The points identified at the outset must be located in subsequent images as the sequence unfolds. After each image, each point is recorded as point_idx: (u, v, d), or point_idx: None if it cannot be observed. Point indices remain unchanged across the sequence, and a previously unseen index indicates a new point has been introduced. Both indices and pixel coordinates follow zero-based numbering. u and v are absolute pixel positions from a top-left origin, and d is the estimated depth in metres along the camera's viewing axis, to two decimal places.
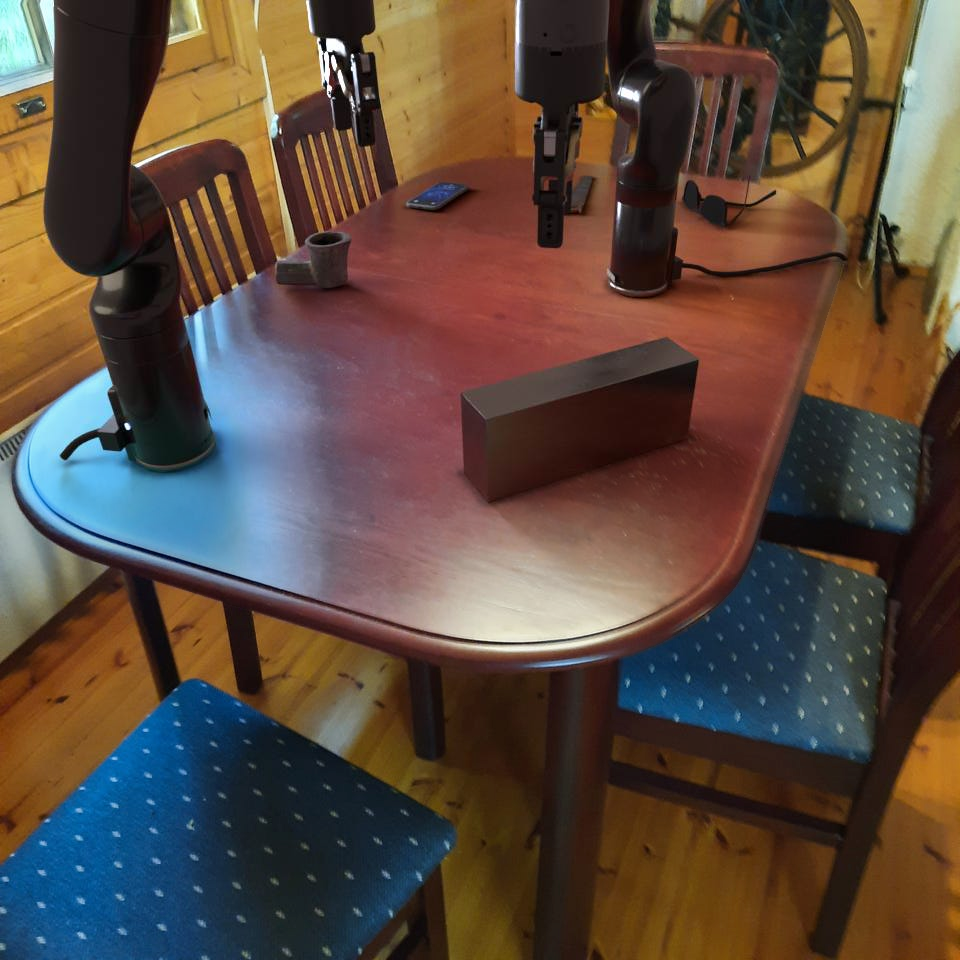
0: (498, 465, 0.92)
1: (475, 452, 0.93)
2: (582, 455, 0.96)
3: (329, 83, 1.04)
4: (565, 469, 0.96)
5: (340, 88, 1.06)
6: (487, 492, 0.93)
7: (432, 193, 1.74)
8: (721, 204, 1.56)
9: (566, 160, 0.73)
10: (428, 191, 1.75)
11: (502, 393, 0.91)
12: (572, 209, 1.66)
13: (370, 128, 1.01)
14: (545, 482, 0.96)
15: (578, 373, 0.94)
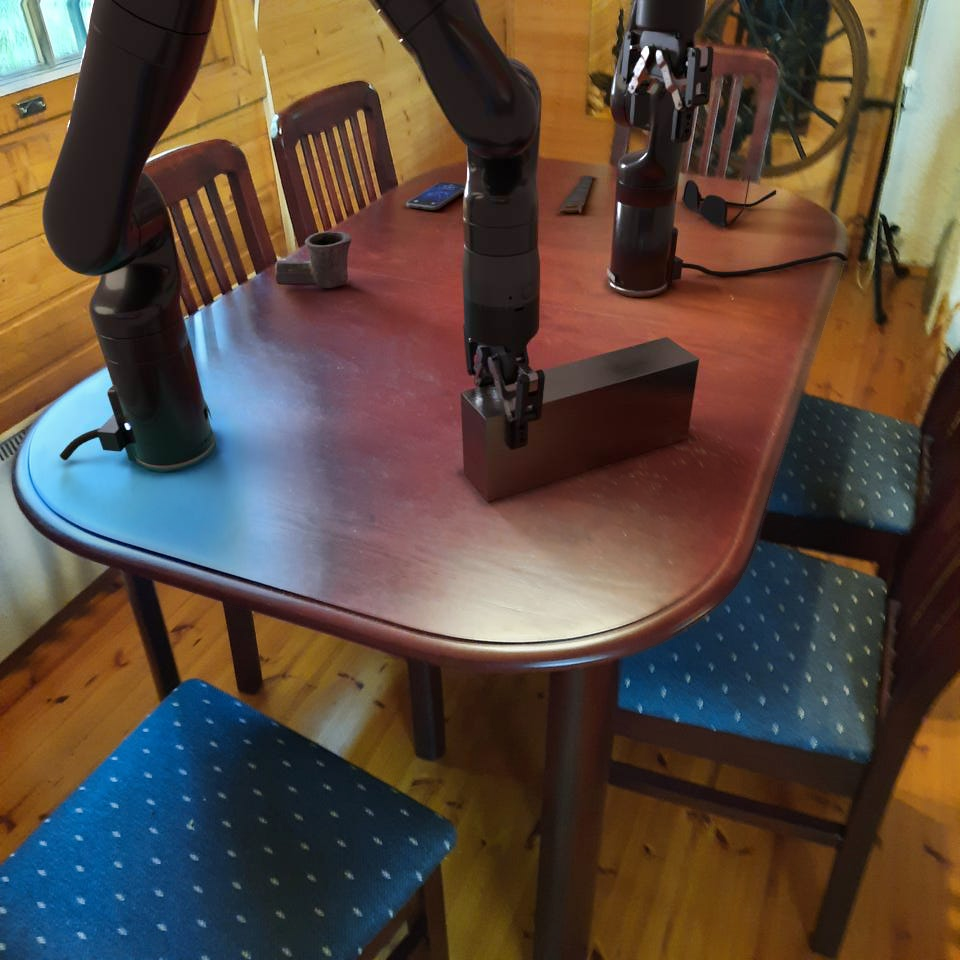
0: (498, 465, 0.92)
1: (475, 452, 0.93)
2: (582, 455, 0.96)
3: (638, 78, 1.02)
4: (565, 469, 0.96)
5: (643, 83, 1.04)
6: (487, 492, 0.93)
7: (432, 193, 1.74)
8: (721, 204, 1.56)
9: None
10: (428, 191, 1.75)
11: None
12: (572, 209, 1.66)
13: (690, 124, 0.98)
14: (545, 482, 0.96)
15: (578, 373, 0.94)
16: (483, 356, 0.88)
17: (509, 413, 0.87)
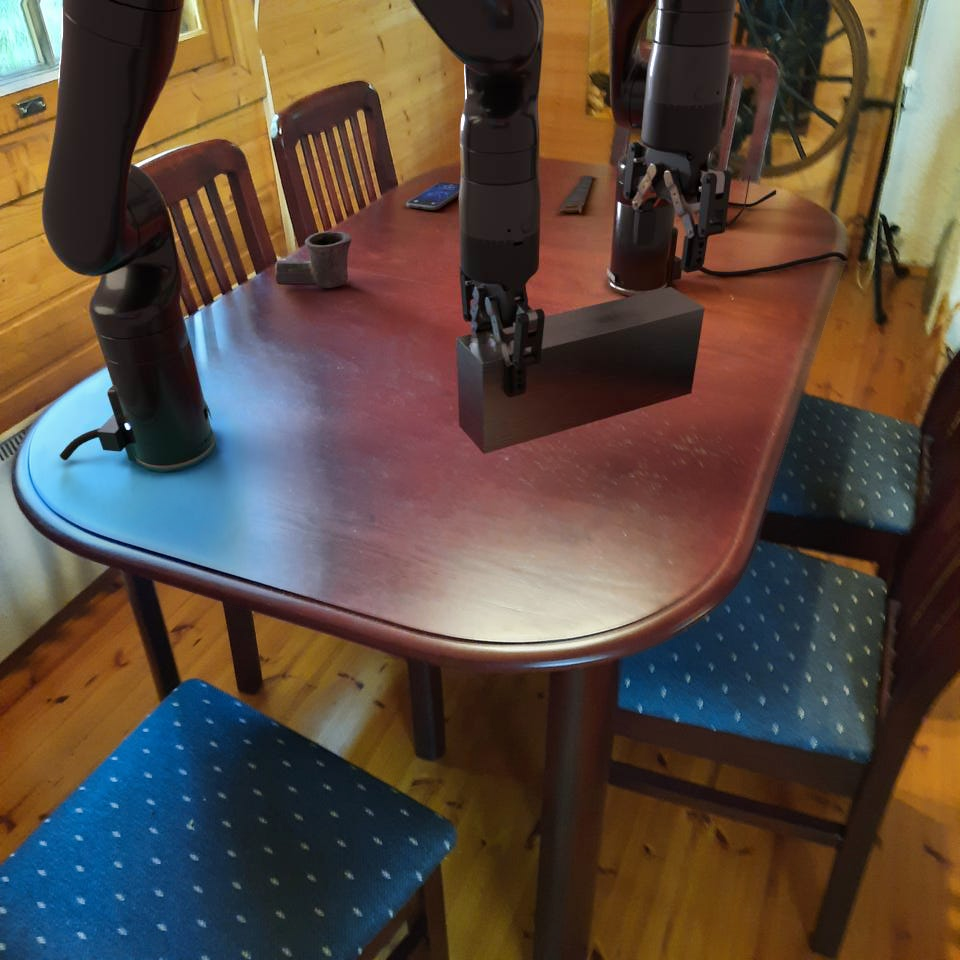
0: (495, 414, 0.88)
1: (471, 401, 0.89)
2: (582, 407, 0.93)
3: (643, 196, 0.89)
4: (565, 421, 0.93)
5: (649, 199, 0.91)
6: (483, 443, 0.89)
7: (432, 193, 1.74)
8: None
9: None
10: (428, 191, 1.75)
11: None
12: (572, 209, 1.66)
13: (703, 253, 0.86)
14: (544, 434, 0.92)
15: (579, 320, 0.91)
16: (480, 297, 0.84)
17: (507, 357, 0.83)
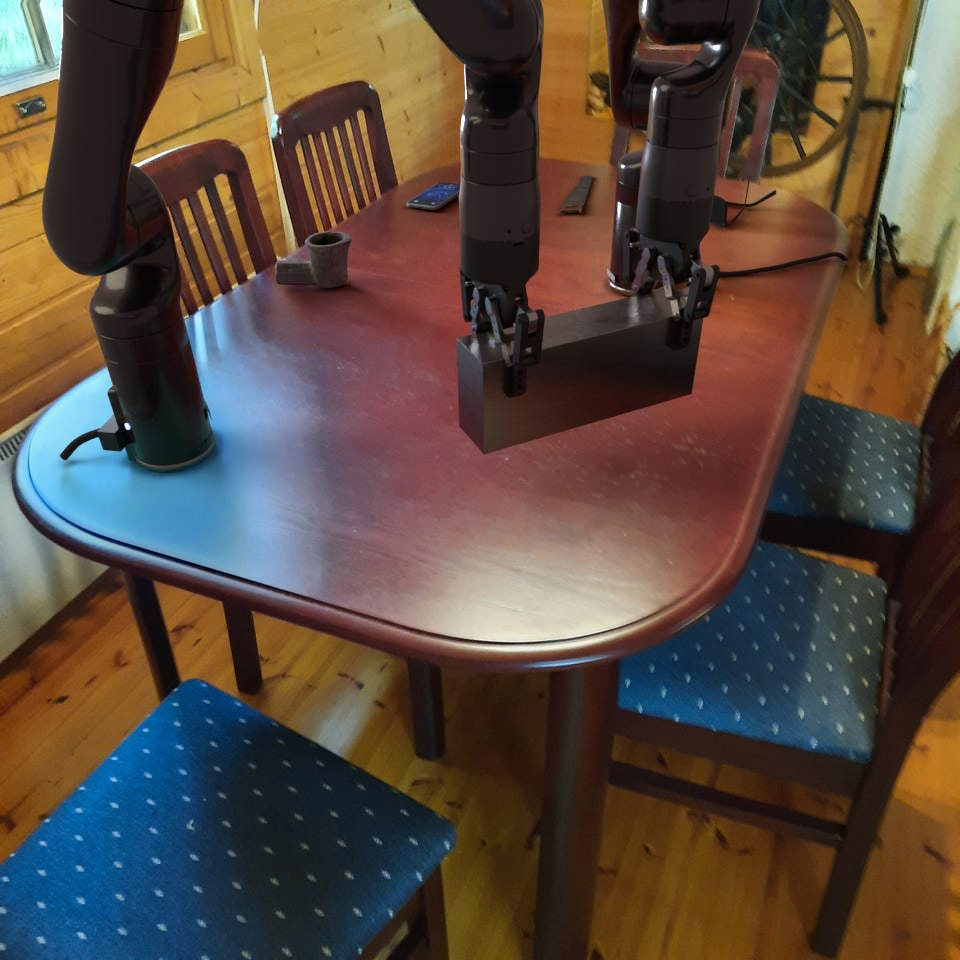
0: (495, 415, 0.88)
1: (471, 401, 0.89)
2: (582, 408, 0.93)
3: (641, 279, 0.94)
4: (565, 422, 0.93)
5: (647, 284, 0.96)
6: (483, 443, 0.89)
7: (432, 193, 1.74)
8: (721, 204, 1.56)
9: None
10: (428, 191, 1.75)
11: None
12: (572, 209, 1.66)
13: (689, 334, 0.92)
14: (544, 435, 0.92)
15: (579, 320, 0.91)
16: (480, 298, 0.84)
17: (507, 358, 0.83)
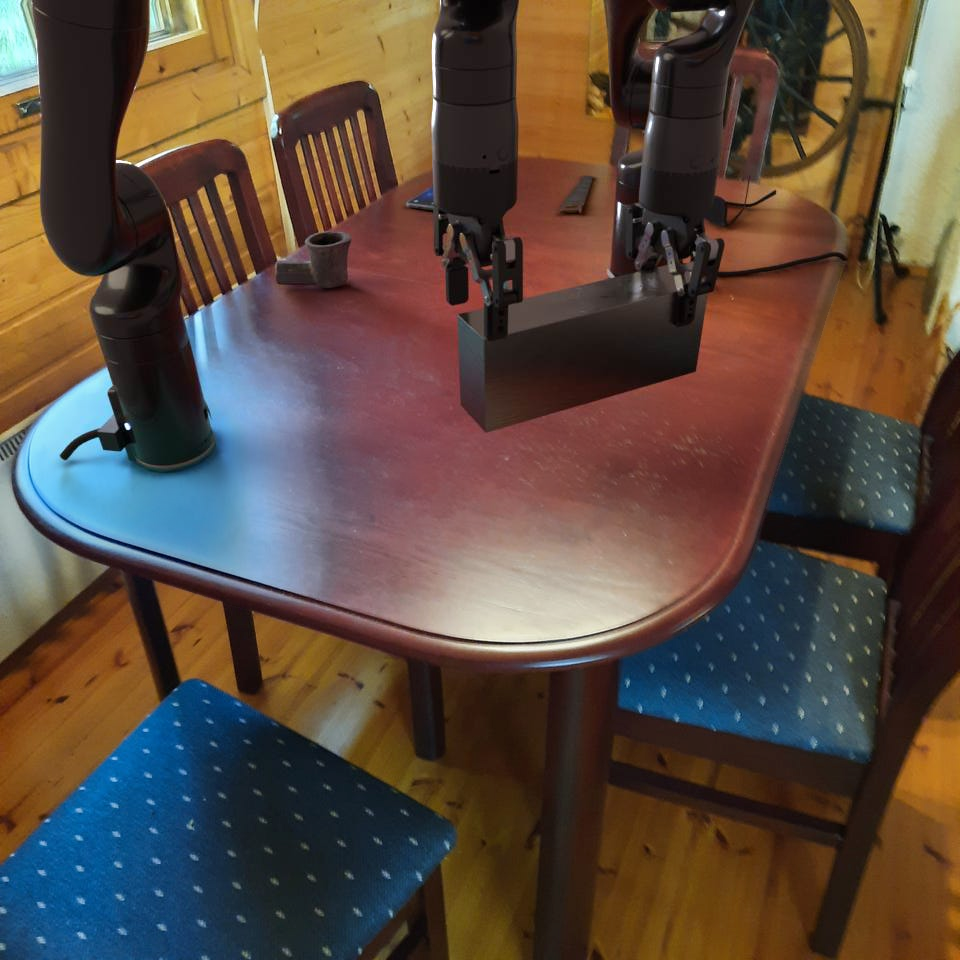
0: (496, 392, 0.86)
1: (472, 379, 0.88)
2: (585, 385, 0.91)
3: (644, 255, 0.92)
4: (567, 400, 0.91)
5: (651, 260, 0.94)
6: (485, 421, 0.88)
7: (432, 193, 1.74)
8: (721, 204, 1.56)
9: None
10: (428, 191, 1.75)
11: None
12: (572, 209, 1.66)
13: (693, 309, 0.90)
14: (546, 413, 0.91)
15: (581, 296, 0.89)
16: (455, 234, 0.79)
17: (487, 296, 0.78)
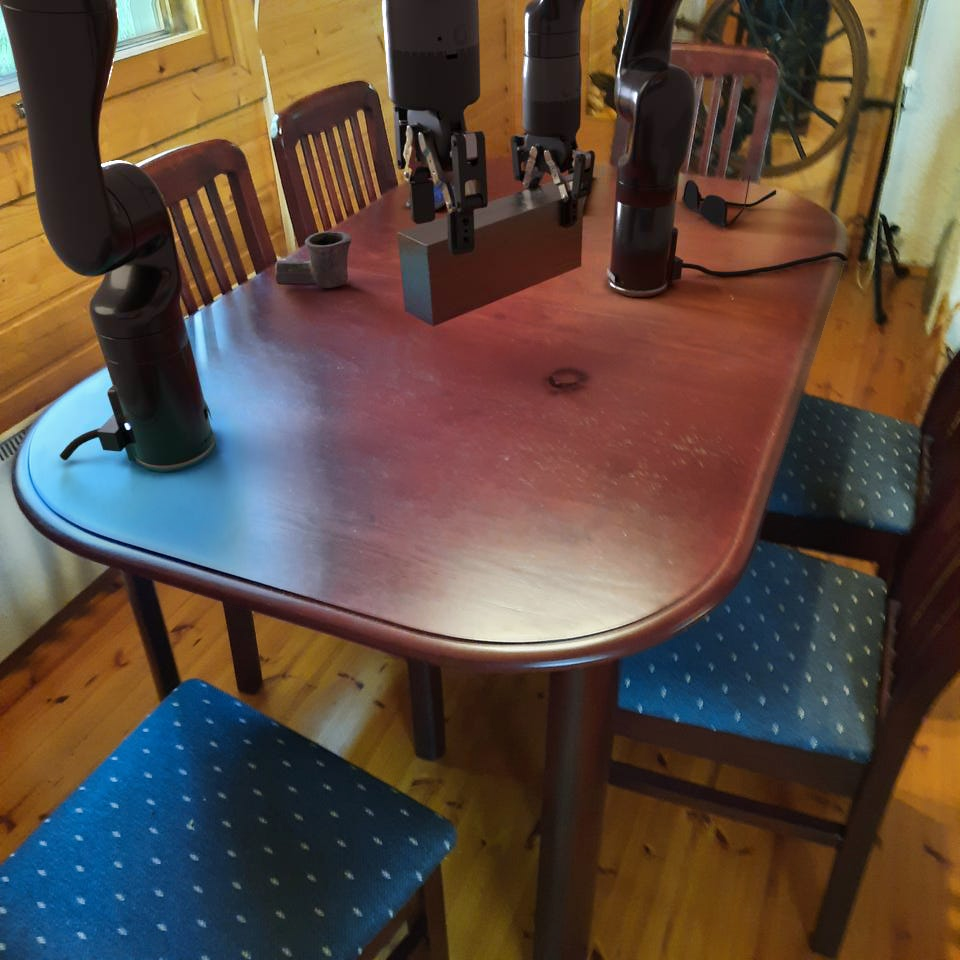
0: (439, 290, 1.07)
1: (416, 283, 1.08)
2: (502, 281, 1.14)
3: (530, 174, 1.16)
4: (491, 295, 1.14)
5: (535, 179, 1.18)
6: (432, 317, 1.09)
7: None
8: (721, 204, 1.56)
9: None
10: None
11: (433, 229, 1.07)
12: None
13: (576, 212, 1.15)
14: (476, 307, 1.13)
15: (490, 210, 1.12)
16: (414, 137, 0.72)
17: (449, 201, 0.71)
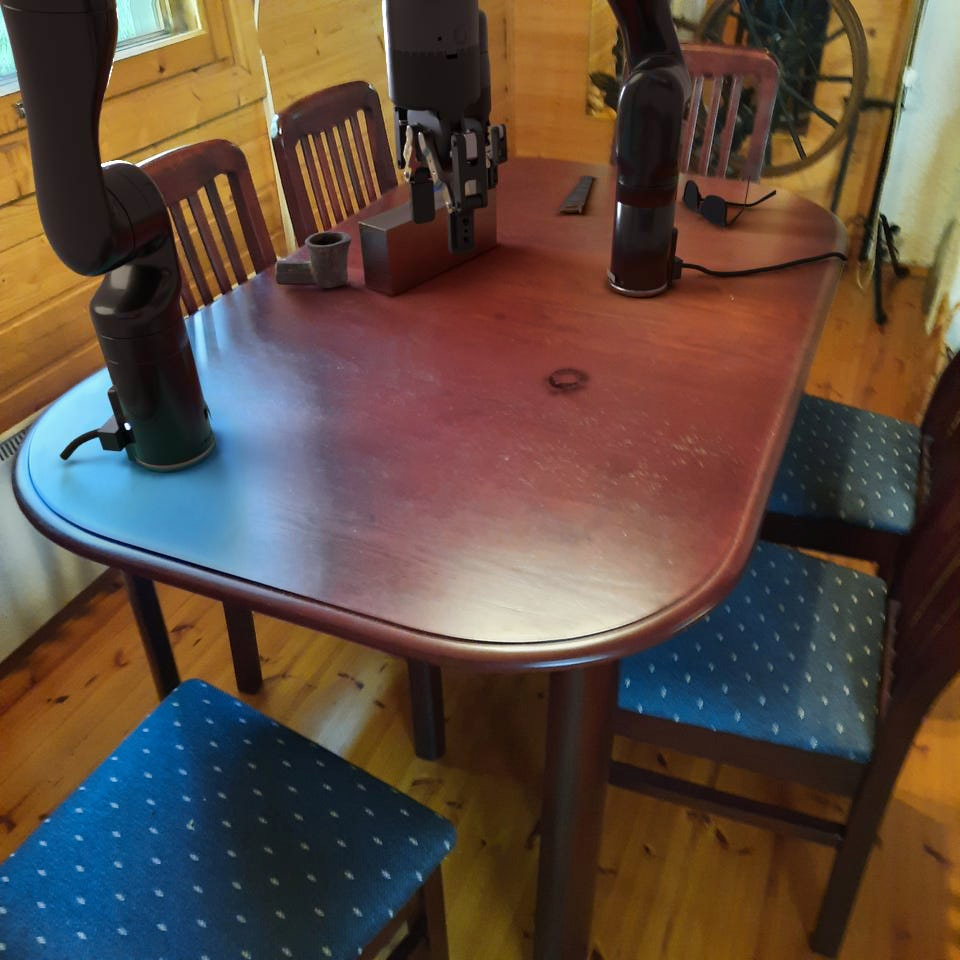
0: (395, 266, 1.35)
1: (376, 262, 1.36)
2: (441, 258, 1.43)
3: None
4: (432, 269, 1.43)
5: None
6: (391, 288, 1.37)
7: None
8: (721, 204, 1.56)
9: None
10: None
11: (386, 218, 1.35)
12: (572, 209, 1.66)
13: (496, 176, 1.43)
14: (422, 280, 1.42)
15: None
16: (414, 137, 0.72)
17: (449, 201, 0.71)
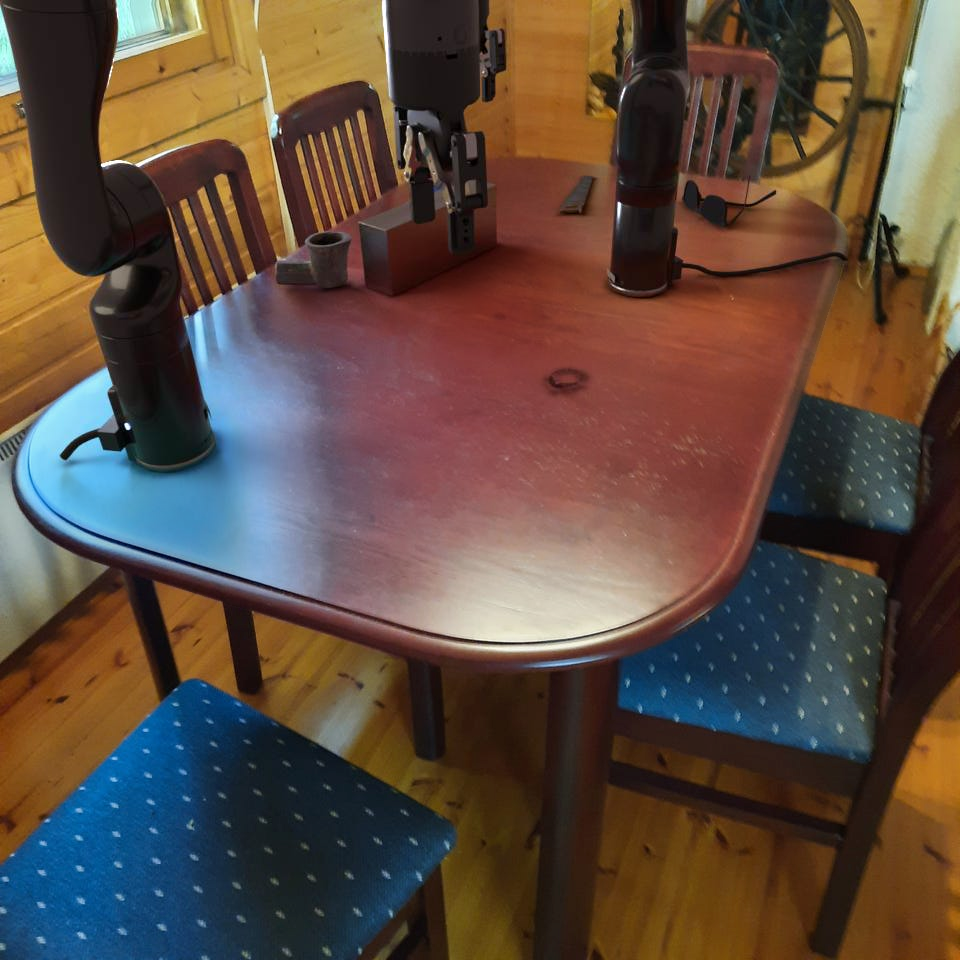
0: (395, 266, 1.35)
1: (376, 262, 1.36)
2: (441, 258, 1.43)
3: None
4: (432, 269, 1.43)
5: None
6: (391, 288, 1.37)
7: None
8: (721, 204, 1.56)
9: None
10: None
11: (386, 218, 1.35)
12: (572, 209, 1.66)
13: (494, 87, 1.35)
14: (422, 280, 1.42)
15: None
16: (414, 137, 0.72)
17: (449, 201, 0.71)
